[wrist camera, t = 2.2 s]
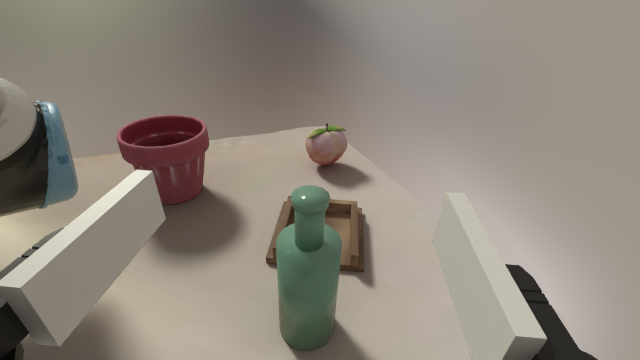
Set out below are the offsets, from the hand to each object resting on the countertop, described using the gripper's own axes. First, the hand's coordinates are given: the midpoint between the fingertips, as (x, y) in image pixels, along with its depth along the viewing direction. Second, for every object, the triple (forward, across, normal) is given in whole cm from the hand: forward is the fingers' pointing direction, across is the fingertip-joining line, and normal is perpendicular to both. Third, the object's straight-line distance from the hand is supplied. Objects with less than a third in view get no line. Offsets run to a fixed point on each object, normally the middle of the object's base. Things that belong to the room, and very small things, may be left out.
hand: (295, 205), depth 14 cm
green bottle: (+12, -1, -25) cm, 28 cm away
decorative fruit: (+52, -2, -25) cm, 57 cm away
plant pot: (+36, -29, -25) cm, 53 cm away
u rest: (+28, -1, -25) cm, 37 cm away
